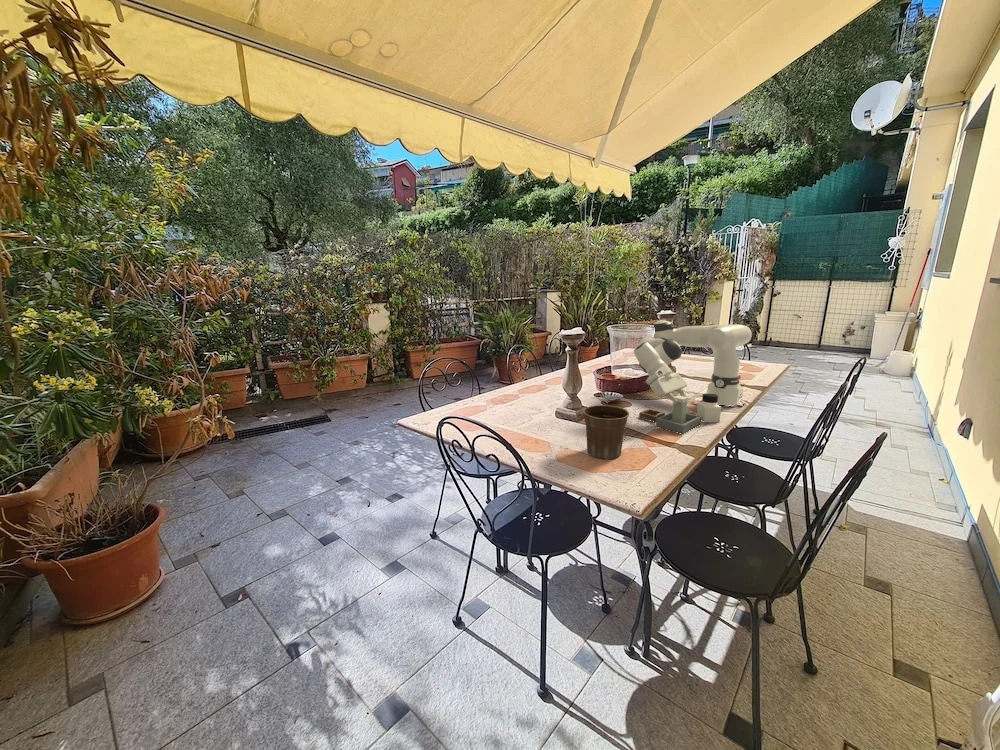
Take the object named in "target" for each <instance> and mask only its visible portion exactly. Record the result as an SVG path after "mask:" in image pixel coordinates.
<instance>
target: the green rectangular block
mask: <svg viewBox="0 0 1000 750" xmlns="http://www.w3.org/2000/svg"><path fill="white" fill-rule="evenodd" d="M674 397H675V398H677V399H678V402H677V403H673V402H672V404H673V405H672V411H673V414H672V422H675V423H679V424H682V425H683V424H685V421H686V413H687V411H688V410H687V409H688V408H687V407H688V396H687V397H683V396H681V395H677V396H676V395H675V396H674Z"/></svg>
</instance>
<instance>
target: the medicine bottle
mask: <svg viewBox="0 0 1000 750" xmlns="http://www.w3.org/2000/svg"><path fill="white" fill-rule="evenodd" d="M701 400H702V401H699V402H697V408H696V415H697V416H701V417H702V419H701V420H702V421H701V422H703V423H719V422H720V421H721V415H722V414H721V411H722V406H719V405H717V402H718V395H716V394H714V393H707V392H705V393H703V394H702V399H701Z"/></svg>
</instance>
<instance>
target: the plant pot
mask: <svg viewBox="0 0 1000 750" xmlns="http://www.w3.org/2000/svg"><path fill="white" fill-rule="evenodd" d="M582 414H584V423H585V432H586V451H587V453H588V455H590V456H591V457H593V458H597V459H601V460H605V459H609V460H614V459H617V458H619V457H620V456H621V454H622V448H623V441H624V437H625V430H626V429H625V428H626V426H627V423H628V422H627V421H628V417H629V416H630V412H629V411H628V410H627V409H625V408H623V407H619V406H614V405H605V404H601V405H599V404H597V405H590V406H587V407H584V408H583V409H582Z"/></svg>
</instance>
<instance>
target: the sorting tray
mask: <svg viewBox="0 0 1000 750" xmlns="http://www.w3.org/2000/svg"><path fill="white" fill-rule="evenodd" d="M672 414H673V410H672V411H670V412H668V413H665V415H663V416H661V417H658V418H656V422H655V428H658V427H659V429H662V428H663V429H662V430H665V429H667V430H666V431H669V430H670V431H669V432H672V431H674V432H673V433H676V432H678V433H677V434H679V433H681V434H680V435H685V434H686V432H687V433H689V432H690V431H692V430H694V429H696V428H698V427H700V426H701V425H702V421H701V419H702V417H701V416H697V414H692V413H688V412H686V421H685V424H683V425H682V424H679V423H675V422H672ZM699 425H700V426H699ZM697 426H698V427H697ZM695 427H696V428H695ZM693 428H694V429H693ZM691 429H692V430H691ZM689 430H690V431H689ZM688 431H689V432H688ZM684 433H685V434H684Z"/></svg>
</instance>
